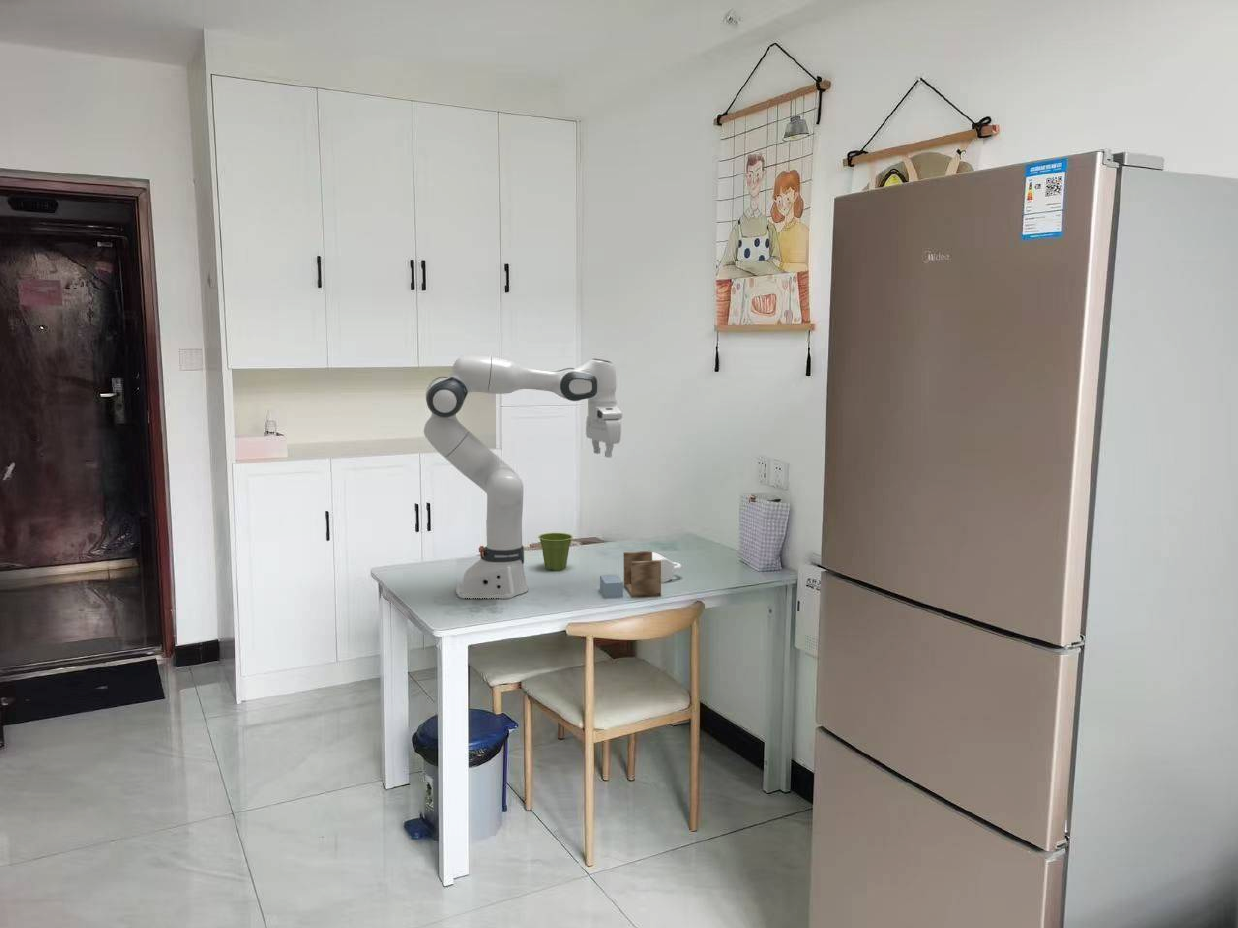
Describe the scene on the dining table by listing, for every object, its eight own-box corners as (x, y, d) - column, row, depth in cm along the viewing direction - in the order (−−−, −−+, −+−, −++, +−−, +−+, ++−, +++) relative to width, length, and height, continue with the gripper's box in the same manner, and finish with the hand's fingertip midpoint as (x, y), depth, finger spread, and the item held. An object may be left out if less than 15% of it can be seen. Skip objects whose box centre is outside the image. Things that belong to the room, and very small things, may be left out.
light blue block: (605, 599, 276) (605, 583, 276) (599, 590, 285) (599, 575, 285) (622, 598, 277) (622, 582, 277) (617, 589, 286) (617, 574, 286)
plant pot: (557, 574, 304) (557, 541, 302) (531, 569, 311) (531, 537, 309) (580, 567, 313) (579, 535, 311) (554, 562, 320) (553, 531, 318)
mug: (652, 584, 292) (652, 560, 291) (640, 576, 301) (640, 553, 300) (685, 580, 296) (686, 556, 295) (672, 572, 306) (673, 549, 304)
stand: (632, 597, 277) (632, 562, 275) (623, 585, 290) (623, 552, 288) (660, 595, 279) (661, 561, 277) (650, 584, 292) (651, 550, 290)
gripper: (581, 409, 289) (581, 451, 291) (605, 414, 271) (605, 459, 273) (599, 408, 292) (599, 450, 294) (624, 413, 273) (624, 458, 275)
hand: (602, 455), depth 283 cm, fingers open, 8 cm apart
